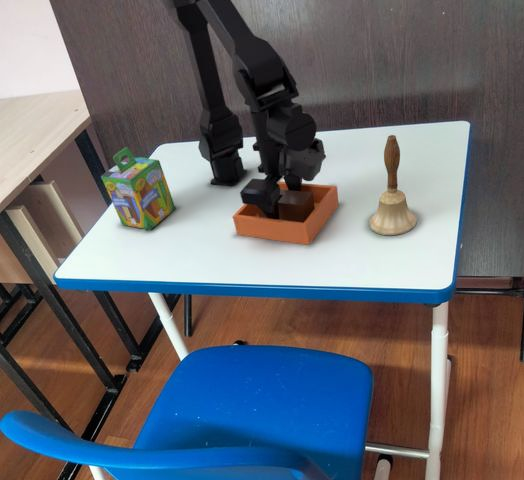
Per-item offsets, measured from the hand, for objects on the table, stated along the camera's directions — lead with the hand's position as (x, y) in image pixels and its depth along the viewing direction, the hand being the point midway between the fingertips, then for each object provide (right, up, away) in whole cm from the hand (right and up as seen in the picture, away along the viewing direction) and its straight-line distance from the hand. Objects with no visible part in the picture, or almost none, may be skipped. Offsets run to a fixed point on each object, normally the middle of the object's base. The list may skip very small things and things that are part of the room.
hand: (286, 212), depth 102 cm
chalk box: (-29, +2, +14) cm, 32 cm away
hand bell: (+19, -4, -7) cm, 20 cm away
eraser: (0, -1, +1) cm, 1 cm away
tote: (0, -1, +1) cm, 2 cm away
